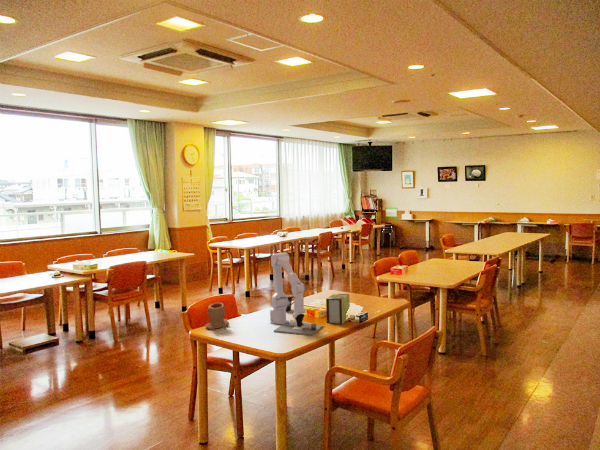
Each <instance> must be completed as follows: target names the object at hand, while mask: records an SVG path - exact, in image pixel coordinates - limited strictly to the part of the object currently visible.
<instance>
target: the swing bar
mask: <svg viewBox="0 0 600 450" xmlns="http://www.w3.org/2000/svg"><path fill="white" fill-rule="evenodd" d="M289 323H290V326H295V327H297V322H296V319H290V320H289ZM316 325H317V323H312V322H308V321H302V326H301V327H300V328H306V329H311V330H316Z"/></svg>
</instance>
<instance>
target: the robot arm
mask: <svg viewBox="0 0 600 450" xmlns="http://www.w3.org/2000/svg"><path fill="white" fill-rule="evenodd" d="M270 262H271V263H270V264H271V267H272V270H273V271H272V273H273V274H272V275H273V284H274V285H273V286H274V294H272V296H271V301H270V305H271V307H272V308H270V312H269V313H270V314H269V317H270V318H269V319H270V320H269V323H270V324H276V325H283V324H285V323H286V322H288V323H289V322H290V320H289V319H287V311H286V308H287V306H288V304H289V301H288V298H287V295H288V294H286V293H285V292H284V285H283V284H284V283H283V273H282V268H283V270H284V271H285V273H286V274H287V281H288V282H289V284H290V286H291V292H292V297H293V302H294V303H293V309H294V311H293V313H292V318H294V320H296V322H297V327H301V326H302V322H303V320H304V318H305V314H306V313H307V312H306V311H307V310H306V308H305V307H304V306H305V305H304V303H305V301H304V299H305V298H304V293H305V292H306V286H305V283H304V282H302V281H301V280H300V279H299V277H298V275H297V273H295V272H294V270H293V268H292V266H291V263H290V255H289V253H288V252H286V251H284V252H275V253H272V254H271V256H270ZM280 297H282V298H280Z"/></svg>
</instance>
